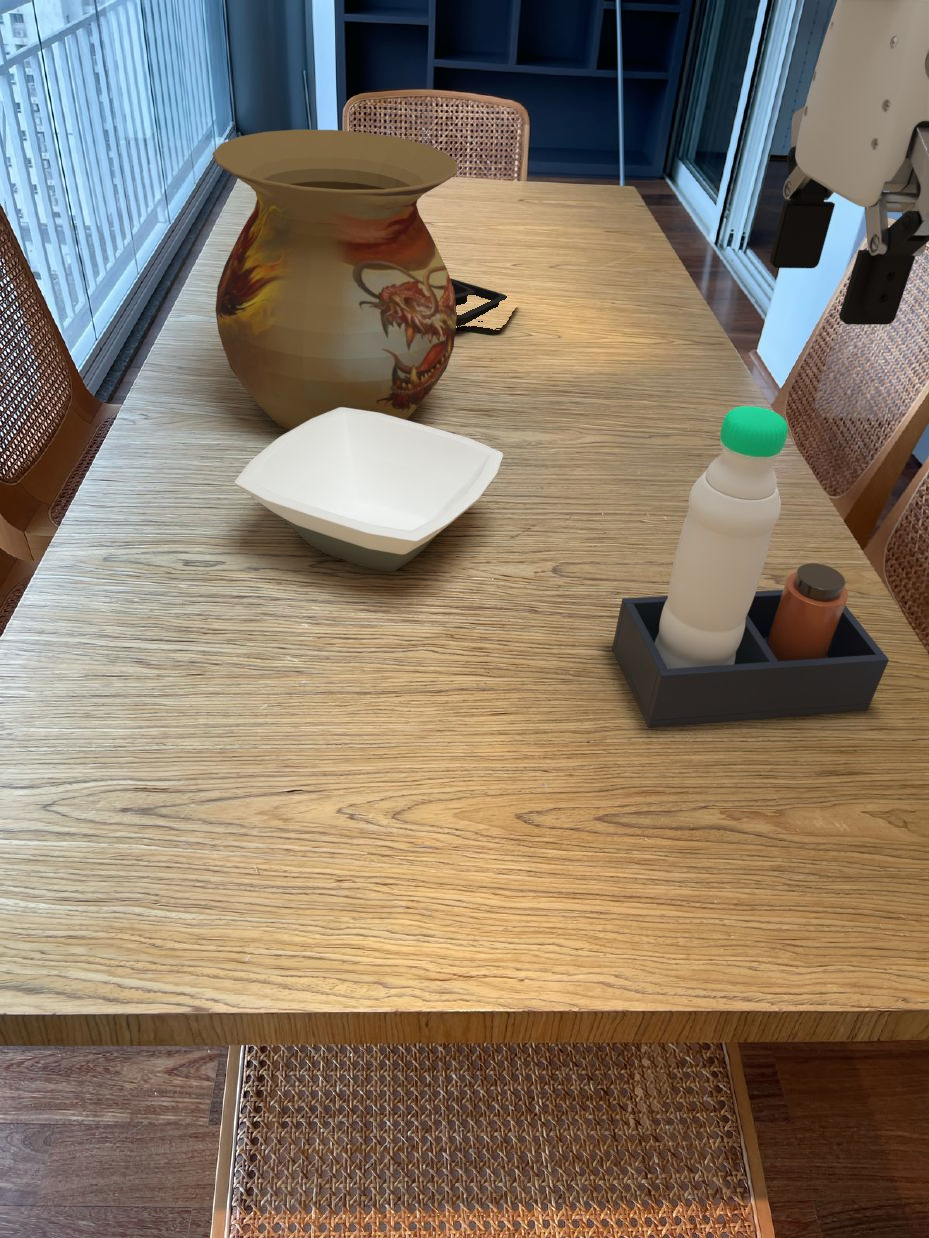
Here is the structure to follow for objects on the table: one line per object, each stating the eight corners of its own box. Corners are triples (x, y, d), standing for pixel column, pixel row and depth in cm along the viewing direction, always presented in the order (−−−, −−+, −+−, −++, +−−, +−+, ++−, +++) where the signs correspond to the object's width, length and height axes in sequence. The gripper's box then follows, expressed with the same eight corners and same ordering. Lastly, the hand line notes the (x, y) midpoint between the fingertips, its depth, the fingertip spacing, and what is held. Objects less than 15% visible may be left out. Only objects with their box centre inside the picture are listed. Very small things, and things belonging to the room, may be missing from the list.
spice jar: (802, 648, 93) (834, 557, 87) (828, 685, 89) (864, 592, 83) (750, 652, 92) (779, 560, 86) (774, 689, 88) (806, 596, 82)
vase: (441, 471, 117) (458, 204, 99) (196, 448, 117) (169, 178, 99) (457, 371, 140) (474, 140, 122) (253, 353, 140) (239, 119, 122)
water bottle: (650, 642, 92) (710, 389, 77) (728, 656, 91) (803, 403, 76) (646, 692, 86) (709, 429, 71) (728, 707, 86) (810, 444, 70)
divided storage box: (611, 650, 93) (622, 598, 89) (813, 637, 96) (831, 586, 93) (648, 729, 84) (662, 675, 81) (867, 711, 88) (889, 659, 85)
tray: (520, 298, 166) (523, 266, 162) (516, 352, 147) (519, 318, 144) (340, 281, 166) (340, 249, 163) (313, 333, 148) (312, 298, 144)
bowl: (334, 465, 117) (333, 398, 111) (514, 520, 110) (522, 451, 105) (219, 555, 100) (212, 481, 95) (422, 627, 93) (426, 551, 88)
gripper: (1099, -21, 45) (960, 348, 55) (902, -51, 58) (820, 249, 68) (947, -31, 43) (834, 348, 54) (782, -60, 57) (717, 248, 67)
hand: (826, 293), depth 61 cm, fingers open, 9 cm apart
